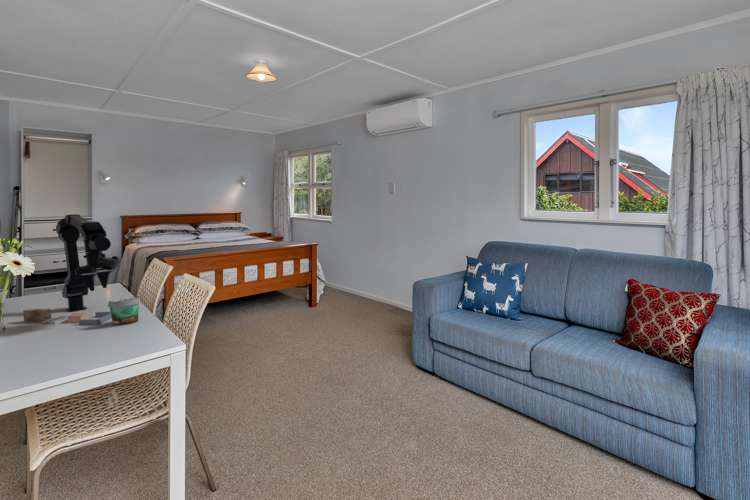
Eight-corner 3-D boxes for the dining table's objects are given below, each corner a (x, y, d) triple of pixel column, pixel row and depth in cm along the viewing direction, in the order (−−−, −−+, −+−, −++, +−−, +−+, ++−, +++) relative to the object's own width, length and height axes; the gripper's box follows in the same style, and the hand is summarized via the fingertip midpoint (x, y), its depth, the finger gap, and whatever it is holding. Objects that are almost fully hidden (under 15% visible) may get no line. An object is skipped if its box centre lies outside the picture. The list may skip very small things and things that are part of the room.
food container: (117, 328, 164) (115, 303, 162) (109, 325, 167) (107, 301, 166) (148, 320, 174) (146, 297, 173) (139, 318, 177) (138, 295, 176)
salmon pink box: (68, 323, 171) (67, 316, 170) (75, 319, 176) (75, 312, 175) (81, 322, 171) (80, 315, 171) (88, 319, 176) (87, 312, 176)
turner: (19, 324, 168) (17, 312, 167) (33, 318, 176) (32, 307, 175) (55, 324, 169) (54, 312, 168) (68, 318, 177) (67, 306, 176)
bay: (79, 324, 168) (78, 320, 167) (96, 316, 179) (96, 311, 179) (99, 324, 168) (99, 319, 168) (116, 316, 180) (115, 311, 180)
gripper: (102, 251, 163) (107, 290, 164) (125, 249, 182) (130, 284, 183) (71, 254, 162) (77, 293, 163) (98, 251, 181) (103, 287, 182)
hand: (98, 289), depth 173 cm, fingers open, 9 cm apart
